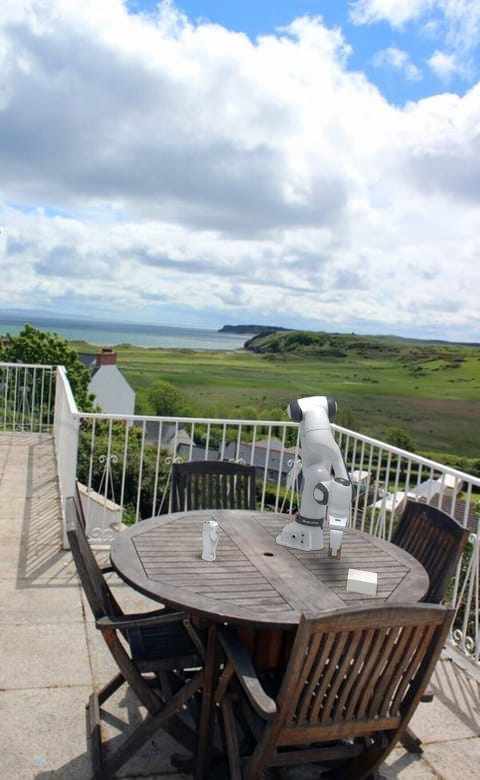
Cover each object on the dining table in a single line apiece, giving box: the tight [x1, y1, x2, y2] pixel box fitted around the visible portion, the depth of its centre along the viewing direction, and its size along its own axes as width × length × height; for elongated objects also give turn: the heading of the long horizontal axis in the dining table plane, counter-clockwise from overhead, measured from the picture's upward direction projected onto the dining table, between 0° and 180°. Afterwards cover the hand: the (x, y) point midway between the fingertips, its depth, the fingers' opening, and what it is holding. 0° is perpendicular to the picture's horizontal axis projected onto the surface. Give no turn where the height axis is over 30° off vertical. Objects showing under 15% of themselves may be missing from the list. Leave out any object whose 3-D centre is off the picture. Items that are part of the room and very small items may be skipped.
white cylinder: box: [201, 520, 220, 562], centre depth 237 cm, size 7×7×15 cm
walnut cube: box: [326, 541, 343, 561], centre depth 228 cm, size 5×5×5 cm
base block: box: [346, 568, 378, 596], centre depth 221 cm, size 11×11×5 cm
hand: (334, 552), depth 228 cm, fingers closed on walnut cube, 5 cm apart
